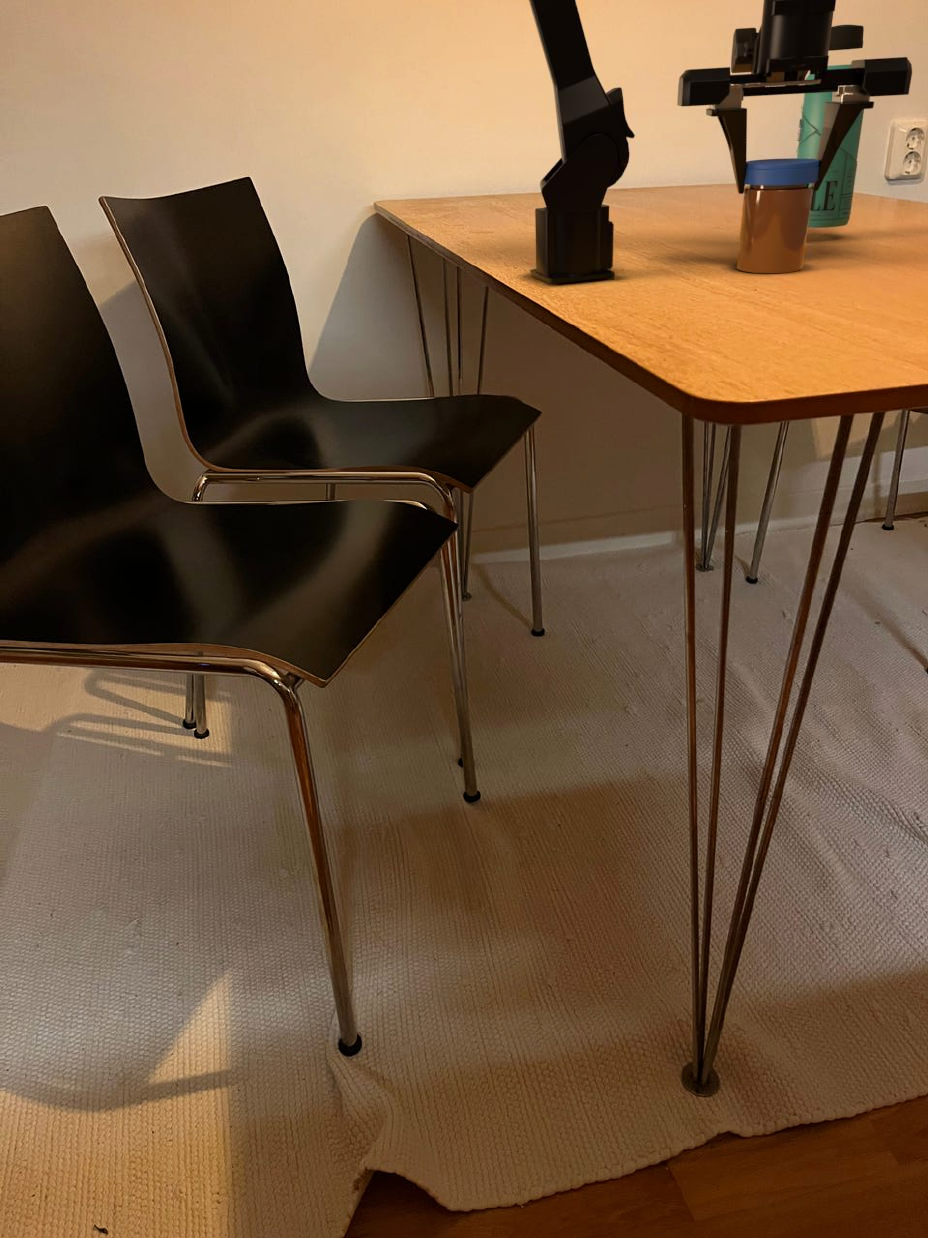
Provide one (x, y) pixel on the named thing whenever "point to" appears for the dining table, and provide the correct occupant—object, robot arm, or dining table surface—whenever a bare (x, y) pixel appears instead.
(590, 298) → the dining table surface
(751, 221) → the jar
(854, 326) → the dining table surface
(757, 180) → the jar lid
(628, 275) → the dining table surface
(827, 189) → the beverage bottle
